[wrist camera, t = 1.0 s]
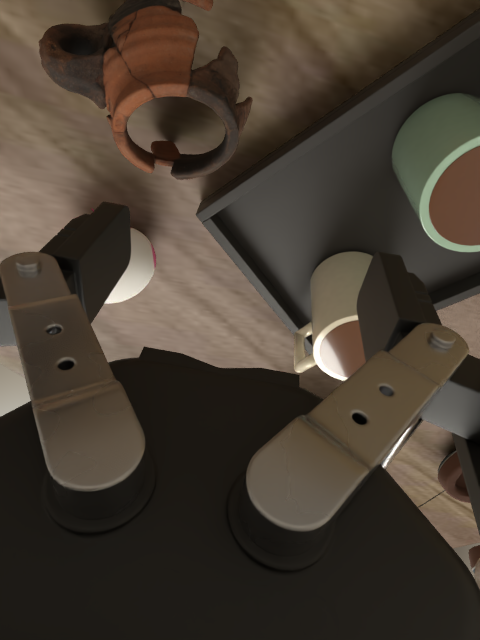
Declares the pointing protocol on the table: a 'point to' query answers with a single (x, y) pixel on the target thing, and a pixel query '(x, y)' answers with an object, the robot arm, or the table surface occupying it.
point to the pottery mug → (148, 76)
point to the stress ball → (135, 269)
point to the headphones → (456, 491)
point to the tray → (347, 189)
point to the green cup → (443, 169)
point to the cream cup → (334, 317)
